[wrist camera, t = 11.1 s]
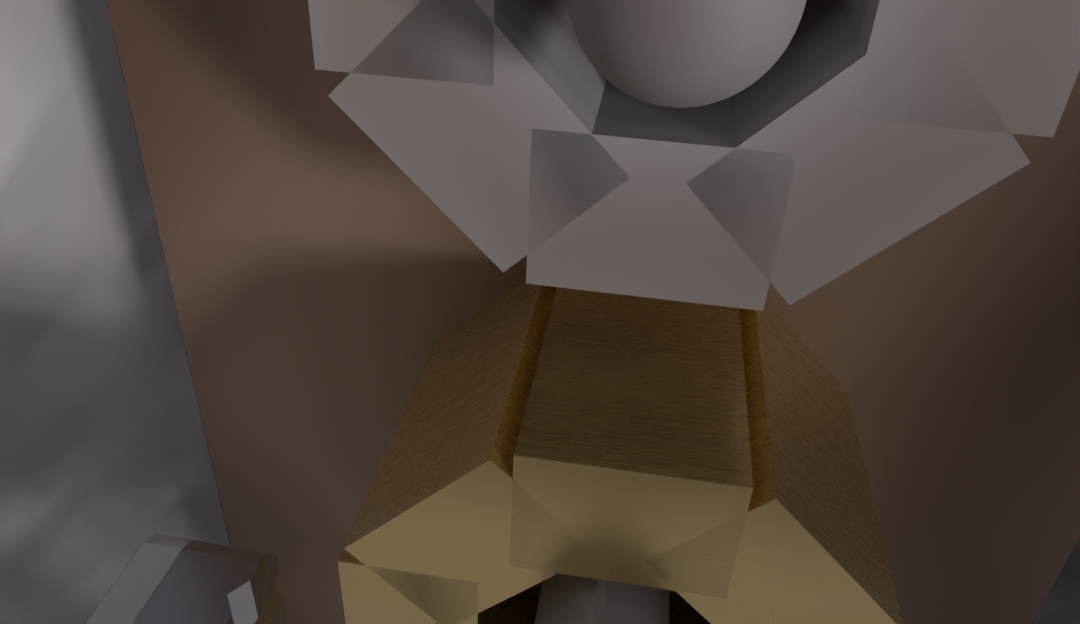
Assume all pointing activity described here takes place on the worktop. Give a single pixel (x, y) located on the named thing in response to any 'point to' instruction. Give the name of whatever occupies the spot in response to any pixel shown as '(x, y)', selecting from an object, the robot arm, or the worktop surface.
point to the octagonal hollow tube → (621, 470)
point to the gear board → (408, 275)
